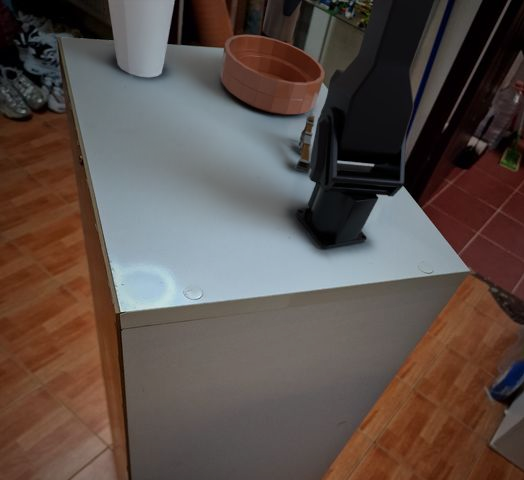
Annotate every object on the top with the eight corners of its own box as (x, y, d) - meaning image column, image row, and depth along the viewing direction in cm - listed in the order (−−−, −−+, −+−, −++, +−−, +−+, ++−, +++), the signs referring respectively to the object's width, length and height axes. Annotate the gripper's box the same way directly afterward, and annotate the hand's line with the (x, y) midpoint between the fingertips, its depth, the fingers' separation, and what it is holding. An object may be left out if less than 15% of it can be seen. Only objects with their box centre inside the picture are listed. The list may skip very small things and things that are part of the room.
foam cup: (179, 64, 66) (187, -45, 56) (165, 89, 61) (171, -28, 50) (116, 45, 65) (114, -71, 55) (96, 68, 59) (89, -55, 49)
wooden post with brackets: (309, 134, 61) (319, 110, 57) (302, 183, 59) (313, 163, 55) (296, 130, 61) (306, 107, 56) (290, 180, 59) (299, 159, 55)
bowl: (330, 119, 68) (343, 85, 64) (246, 120, 61) (254, 82, 57) (285, 71, 75) (293, 38, 71) (204, 67, 68) (208, 30, 64)
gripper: (241, -199, 50) (220, -29, 62) (263, -179, 39) (231, 21, 52) (330, -165, 53) (293, -9, 65) (372, -138, 42) (318, 42, 55)
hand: (283, 9), depth 59 cm, fingers closed on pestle, 4 cm apart
